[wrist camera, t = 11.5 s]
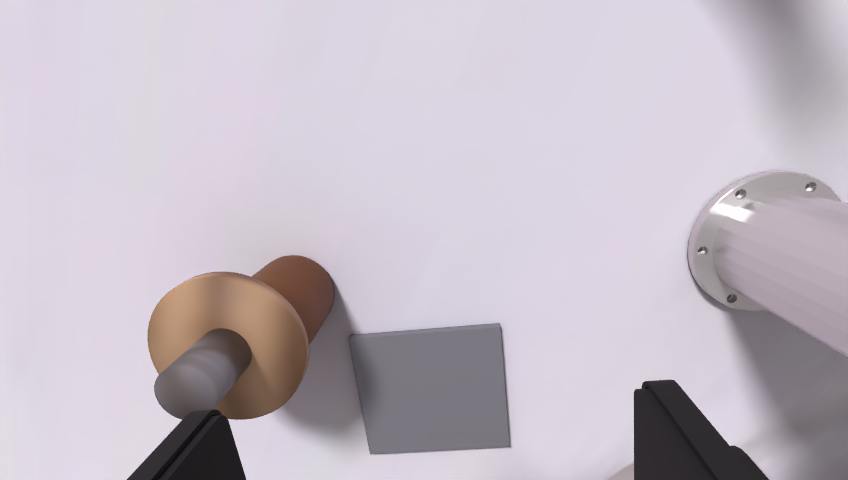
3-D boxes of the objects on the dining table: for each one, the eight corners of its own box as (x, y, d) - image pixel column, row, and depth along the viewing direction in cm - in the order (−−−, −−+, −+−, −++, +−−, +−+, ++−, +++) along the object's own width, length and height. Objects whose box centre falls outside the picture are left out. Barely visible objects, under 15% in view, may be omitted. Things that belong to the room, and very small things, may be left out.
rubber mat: (499, 323, 41) (500, 326, 40) (508, 441, 45) (509, 446, 44) (350, 334, 42) (348, 339, 41) (371, 448, 46) (370, 454, 45)
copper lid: (291, 264, 30) (253, 299, 24) (322, 404, 33) (294, 465, 28) (138, 279, 31) (65, 316, 25) (182, 413, 35) (126, 474, 29)
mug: (240, 342, 43) (185, 400, 34) (209, 276, 41) (142, 320, 32) (347, 313, 42) (319, 366, 32) (319, 243, 40) (281, 279, 31)
